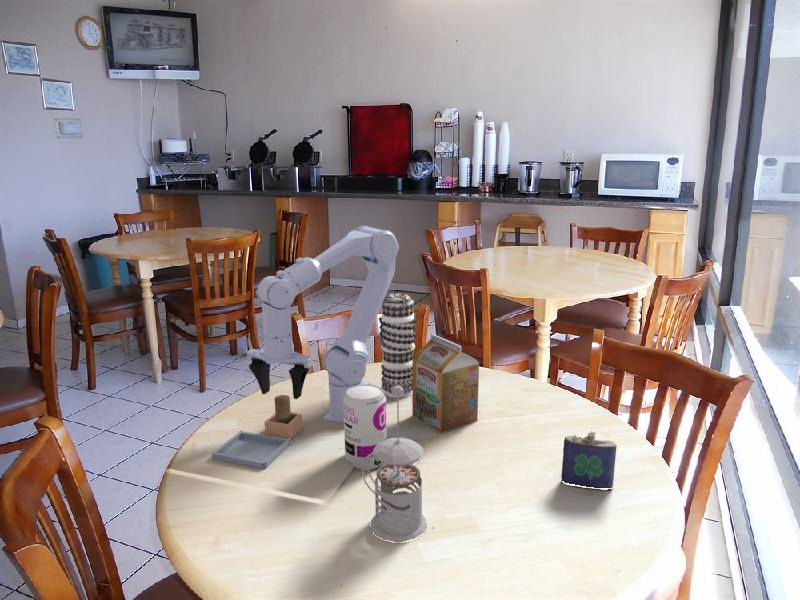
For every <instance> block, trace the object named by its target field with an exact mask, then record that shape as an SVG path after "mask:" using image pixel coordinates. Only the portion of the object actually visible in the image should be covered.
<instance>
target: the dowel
mask: <svg viewBox="0 0 800 600" xmlns="http://www.w3.org/2000/svg"><path fill="white" fill-rule="evenodd" d="M291 412H292V411H291V397H290V396H289V395H287V394H282V395H281V394H280V395H277V396H275V397H274V413H275V415H276V422H278V423H284V424H288V423H289V422H290V421H291Z"/></svg>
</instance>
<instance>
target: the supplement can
mask: <svg viewBox="0 0 800 600" xmlns="http://www.w3.org/2000/svg"><path fill="white" fill-rule="evenodd" d="M382 389H383V388H382V387H380V386H379V385H375V384H371V385H369V384H362V385H356V386H353V387H350V388H349V389H348V390H347V392H346V395H345V397H344V399H343V405H344V422H343V428H344V429H343V430H344V453H345V454H344V456H345V462H346V463H347V464H348V465H349V466H350V467H353V469H357V470H360V471H362V463H363V461H364V459H365V457H367V456H368V455H370V454H371V453H372V452H373V451H374V448H375V447H376V445H377V444H379V443H381V442H383V441H385V440H387V439H388V438H387V437H388V436H387V396H386V395H384V394H383V391H382ZM368 458H369V457H368ZM368 458H367V459H366V460H365V462H364V465H363V471H368ZM377 460H378V459H377ZM383 464H384V463H383V462H381V461H376V460H375V456H374V455H372V456H371V457H370V460H369V469H370V470H375V469H378V468H380V467H382V466H383Z"/></svg>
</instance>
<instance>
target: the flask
mask: <svg viewBox="0 0 800 600" xmlns="http://www.w3.org/2000/svg"><path fill="white" fill-rule="evenodd" d="M596 434H597V433H596V432H595V431H594V432H593V431H590V432H587V436H584V437H582V436H577V435H576V434H574V435H568V436H565V437H564V439H563V450H562V451H563V452H562V453H563V454H562V462H561V463H562V465H561V475H560V476H561V482H562V481H564V482H565V483H569V484H575V485H580V486H586V487H594V488H612V489H613V487H614V481H615V480H614V479H615V478H614V477H615V475H614V474H615V468H616V467H615V466H616V458H617V456H616V455H617V444H616V442H614V441H612V440H601V439H600V440H599V439H595V438H596Z"/></svg>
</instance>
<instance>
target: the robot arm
mask: <svg viewBox="0 0 800 600" xmlns="http://www.w3.org/2000/svg"><path fill="white" fill-rule="evenodd" d="M399 250H400V246H399V243H398V240H397V237H396V235H395V234H394V233H393V232H391V231H390V230H383V229H379V228H375V227H371V226H369V225H362V226H359V227H357V228H356V229H354V230H352V231H350V232H348V233H347V235H346V236H345V237H343V238H342V239H341V240H339V241H338V242H336V243H334V244H333V245H332V246H330V247H329V248H327V249H326V250H325V251H323V252H322V253H320V254H319V255H317V256H315V257H314V258H311V257H306V256H305V257H298V258H297V259H295V262H294V263H293V264H292V265H290V266H288V267H287V268H286V269H284V270H282V269H281V270H278V271H276V275H275V276H274V275H272V276H271V275H269V276H266V277H264V278H263V279H262V280H260V283H259V284H258V286H257V289H256V290H255V294H256V297H257V299H258V300H259V301H260V302H261V308H262V309H261V310H262V312H261V313H262V325H263V326H262V327H263V339H264V340H263V342H264V348H263V349H254V348H252V349H249V350H247V351H246V360H247V361H251V363H250V364H248V368H249V370H250V371H251V373H252V374H253V375H254V377H255V379H256V381H257V383H258V386H259V388H260V391H261V394H262V395H266V394H267V393H268V392H270V390H271V381H270V374H271V373H270V371H271V365H275V364H283V365H291V366H292V368H290V369H289V370H288V373H289V376H290V379H291V383H292V384H291V385H292V397H293V399H294V400H298V399H299V398H300V397H302V393H303V392H302V391H303V387H304V384H305V379H306V377H307V375H308V373H309V370H310V369H311V367H312V366H313V365H314V364H313V362H314V359H313V356H311V355H306V354H304V353H303V354H302V353H299V352H297V351H295V350H294V349H293V347H294V346H293V330H292V329H293V327H292V314H291V313H292V311H291V305H292V304H293V303H294V301H295V298H296V297H297V296H298V295H299V294H300V293H302V292H305V290H307V289H309V288H310V287H312V286H314V285H315V284H317V283H318V282H320V281H321V278H322V276H323V273H324V272H326V271H327V270H329V269H331V268H333V267H335V266H337V265H339V264H340V263H342V262H344V261H346V260H348V259H349V258H351V257H355V256H356V257H361V258H362V260H363V261H364V263H365V265H366V267H367V270H368V274H367V276H366V278H365V280H364V283H363V286H362V288H361V291H360V293H359V296H358V297H357V300H356V303H355V304H354V308H353V309H352V312H351V314H350V317H349V319H348V321H347V324H346V327H345V329H344V331H343V333H342V335H340V336H339V337H337V338H336V339H334V340H333V343H332V344H331V346H330V347H329V349H328V350H327V351H326V352H325V353H324V355H323V358H322V366H323V368H324V370H325V371H326V372H328V373H327V377H328V396H329V411H328V413H326V415H325V416H324V417H323V420H329V421H334V422H335V421H336V422H341V423H342V422H343V423H344V405H343V399H344V397H345V395H346V392H347V390H348V389H349V388H350V387H353V386H356V385H362V384H369V385H372V384H371V383H370V382H367V381H365V380H363V378H364V377H365V375H366V372H367V361H368V358H369V353H368V352H369V351H368V350H367V346H366V343H367V342H368V339H369V335H370V333H371V332H372V329H373V327H374V324H375V322H376V319H377V317H378V315H379V312H380V310H381V307H382V306H383V304H382V303H383V300H384V298H385V297H386V296H387V293H388V291H389V288H390V285H391V283H392V281H393V278H394V275H395V272H396V256H397V254H398V251H399ZM293 350H294V351H293Z"/></svg>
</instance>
